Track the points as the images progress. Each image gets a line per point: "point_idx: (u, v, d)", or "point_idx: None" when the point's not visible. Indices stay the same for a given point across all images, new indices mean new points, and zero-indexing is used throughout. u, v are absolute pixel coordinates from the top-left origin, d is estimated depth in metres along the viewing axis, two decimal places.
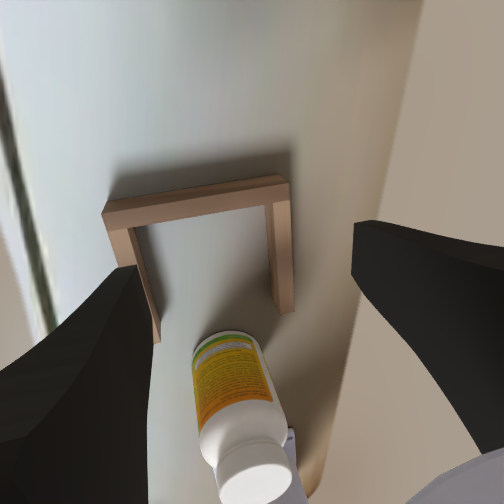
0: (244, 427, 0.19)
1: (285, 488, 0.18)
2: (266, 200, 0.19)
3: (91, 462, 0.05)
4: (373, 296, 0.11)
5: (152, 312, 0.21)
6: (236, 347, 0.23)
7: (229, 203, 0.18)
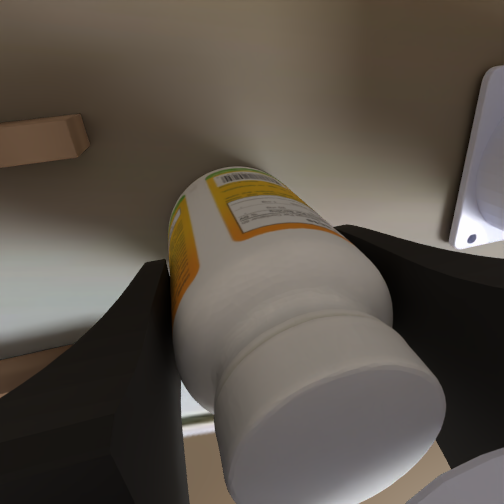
0: (207, 384, 0.07)
1: (403, 375, 0.05)
2: None
3: (152, 445, 0.05)
4: None
5: None
6: (169, 246, 0.11)
7: None
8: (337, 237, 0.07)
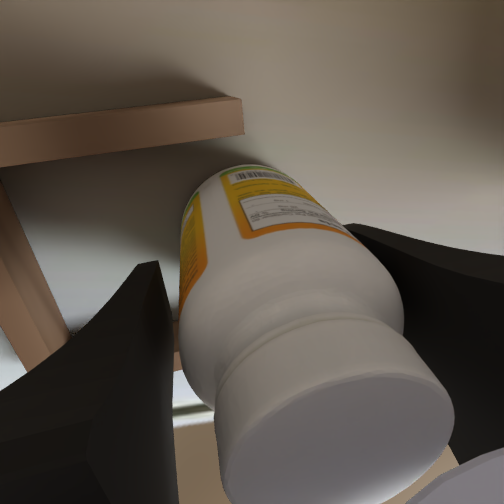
0: (210, 381, 0.07)
1: (409, 384, 0.05)
2: None
3: (137, 449, 0.05)
4: None
5: None
6: None
7: None
8: (349, 239, 0.07)
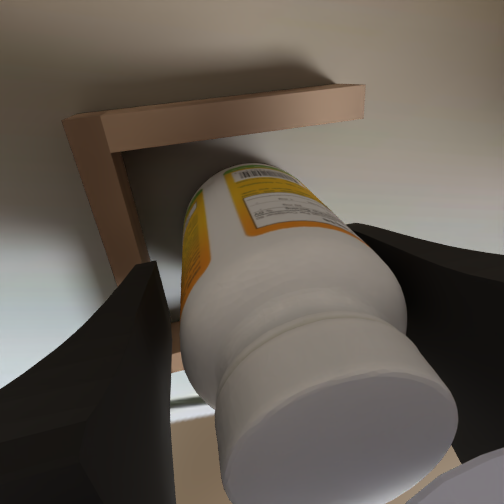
0: (211, 379, 0.07)
1: (414, 385, 0.05)
2: (106, 166, 0.10)
3: (133, 450, 0.05)
4: None
5: None
6: (183, 239, 0.11)
7: (119, 231, 0.11)
8: (353, 238, 0.07)
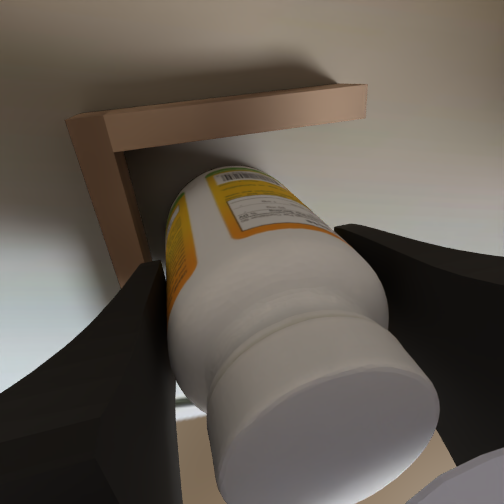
0: (200, 382, 0.07)
1: (399, 378, 0.05)
2: (109, 165, 0.10)
3: (143, 448, 0.05)
4: None
5: None
6: (166, 243, 0.11)
7: (122, 231, 0.11)
8: (336, 239, 0.07)
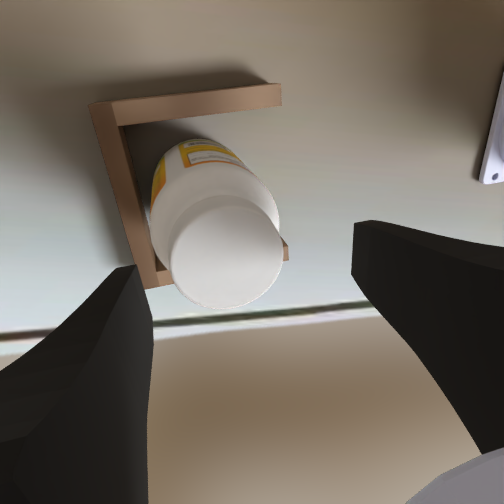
0: (167, 245, 0.13)
1: (252, 217, 0.11)
2: (115, 134, 0.16)
3: (91, 462, 0.05)
4: (373, 296, 0.11)
5: None
6: None
7: (122, 179, 0.17)
8: (244, 169, 0.13)
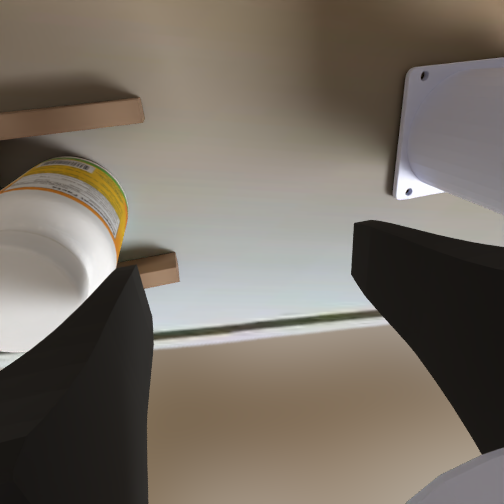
0: None
1: (25, 256, 0.10)
2: None
3: (91, 462, 0.05)
4: (373, 296, 0.11)
5: None
6: None
7: None
8: (61, 196, 0.12)
